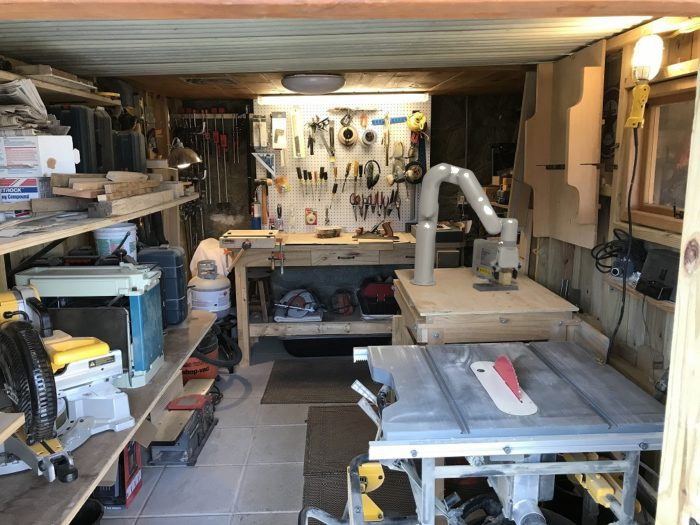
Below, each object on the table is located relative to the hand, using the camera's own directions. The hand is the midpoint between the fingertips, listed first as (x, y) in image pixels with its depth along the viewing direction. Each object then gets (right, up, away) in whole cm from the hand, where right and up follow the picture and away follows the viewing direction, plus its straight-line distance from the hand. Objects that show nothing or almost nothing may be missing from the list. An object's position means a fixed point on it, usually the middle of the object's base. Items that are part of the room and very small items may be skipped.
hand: (505, 278), depth 266 cm
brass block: (0, -5, +1) cm, 5 cm away
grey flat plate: (-5, -5, 0) cm, 7 cm away
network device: (-4, -2, +17) cm, 18 cm away
